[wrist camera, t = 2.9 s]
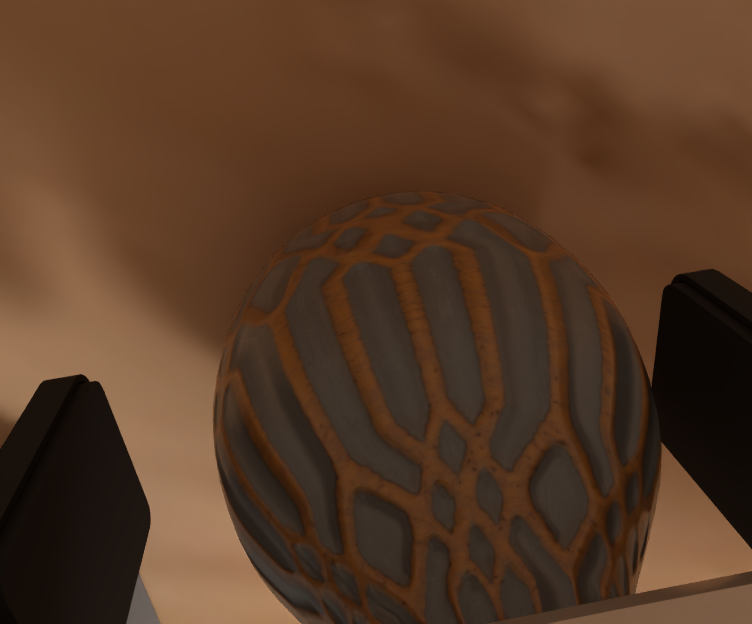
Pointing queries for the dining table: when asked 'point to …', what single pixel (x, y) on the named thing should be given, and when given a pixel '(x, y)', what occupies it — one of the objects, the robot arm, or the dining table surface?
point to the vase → (434, 420)
